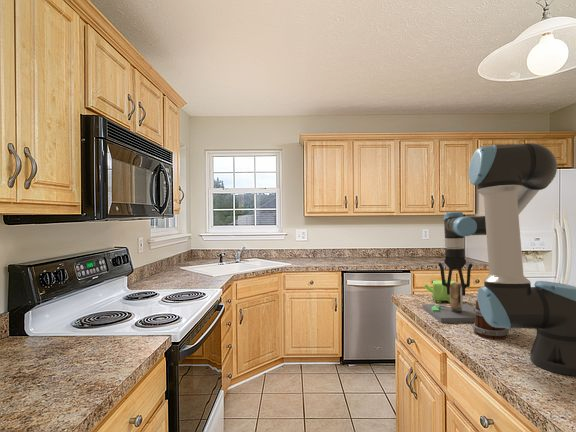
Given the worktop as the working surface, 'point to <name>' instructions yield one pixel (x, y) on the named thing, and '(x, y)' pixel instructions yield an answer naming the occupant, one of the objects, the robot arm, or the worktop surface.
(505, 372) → the worktop surface
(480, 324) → the mug
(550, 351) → the robot arm
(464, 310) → the board
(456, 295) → the peg key
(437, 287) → the kettle
